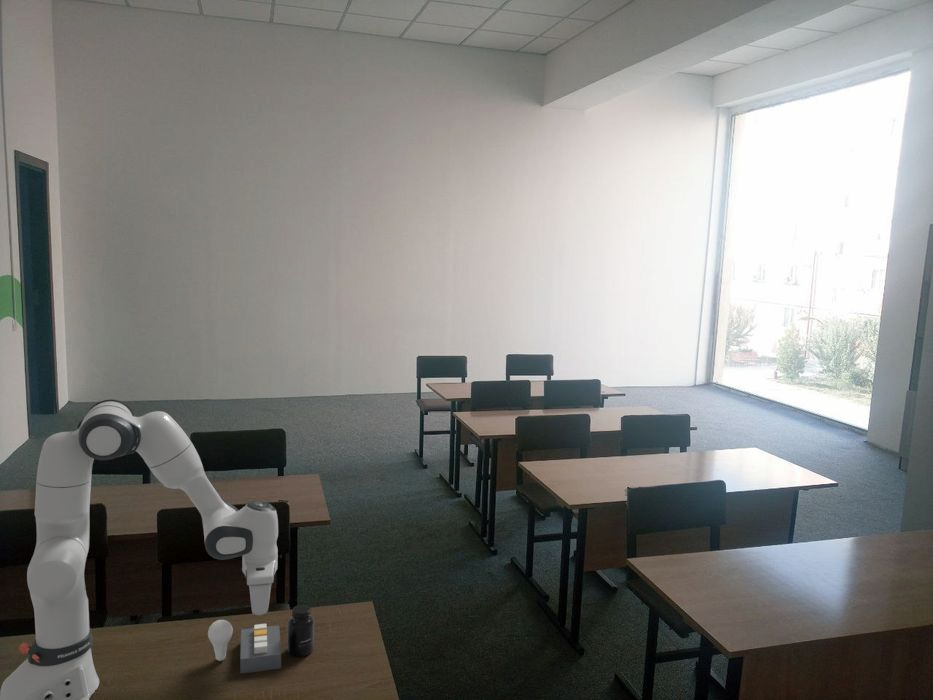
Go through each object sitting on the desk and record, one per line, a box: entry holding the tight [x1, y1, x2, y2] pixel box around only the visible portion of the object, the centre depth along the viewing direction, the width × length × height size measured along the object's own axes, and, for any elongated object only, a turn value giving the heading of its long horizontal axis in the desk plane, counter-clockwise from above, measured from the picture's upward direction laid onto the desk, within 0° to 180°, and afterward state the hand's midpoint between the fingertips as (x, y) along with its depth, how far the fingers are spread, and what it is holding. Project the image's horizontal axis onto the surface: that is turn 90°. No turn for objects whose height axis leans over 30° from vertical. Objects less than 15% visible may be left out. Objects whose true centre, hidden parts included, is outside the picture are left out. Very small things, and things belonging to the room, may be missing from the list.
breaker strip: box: [239, 622, 282, 674], centre depth 189 cm, size 22×10×6 cm, turn 17°
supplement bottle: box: [287, 604, 315, 658], centre depth 188 cm, size 7×7×12 cm
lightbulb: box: [207, 619, 234, 662], centre depth 182 cm, size 6×6×11 cm
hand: (259, 612), depth 184 cm, fingers closed
